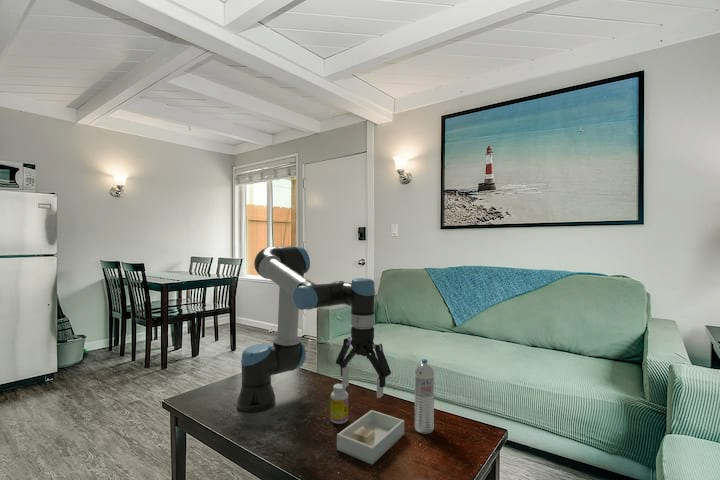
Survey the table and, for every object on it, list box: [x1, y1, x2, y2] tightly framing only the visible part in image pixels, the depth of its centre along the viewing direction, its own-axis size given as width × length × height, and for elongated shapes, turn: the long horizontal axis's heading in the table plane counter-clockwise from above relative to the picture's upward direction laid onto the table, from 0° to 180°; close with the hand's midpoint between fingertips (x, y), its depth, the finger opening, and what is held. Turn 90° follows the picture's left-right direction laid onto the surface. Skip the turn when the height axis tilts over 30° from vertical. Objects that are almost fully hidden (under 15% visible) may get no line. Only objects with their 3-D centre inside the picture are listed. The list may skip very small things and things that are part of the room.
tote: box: [336, 409, 405, 466], centre depth 124 cm, size 14×21×5 cm, turn 145°
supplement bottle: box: [330, 383, 349, 425], centre depth 139 cm, size 7×7×13 cm
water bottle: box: [414, 358, 435, 435], centre depth 132 cm, size 7×7×25 cm
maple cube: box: [353, 426, 375, 446], centre depth 120 cm, size 5×5×5 cm
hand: (362, 391), depth 121 cm, fingers open, 13 cm apart
